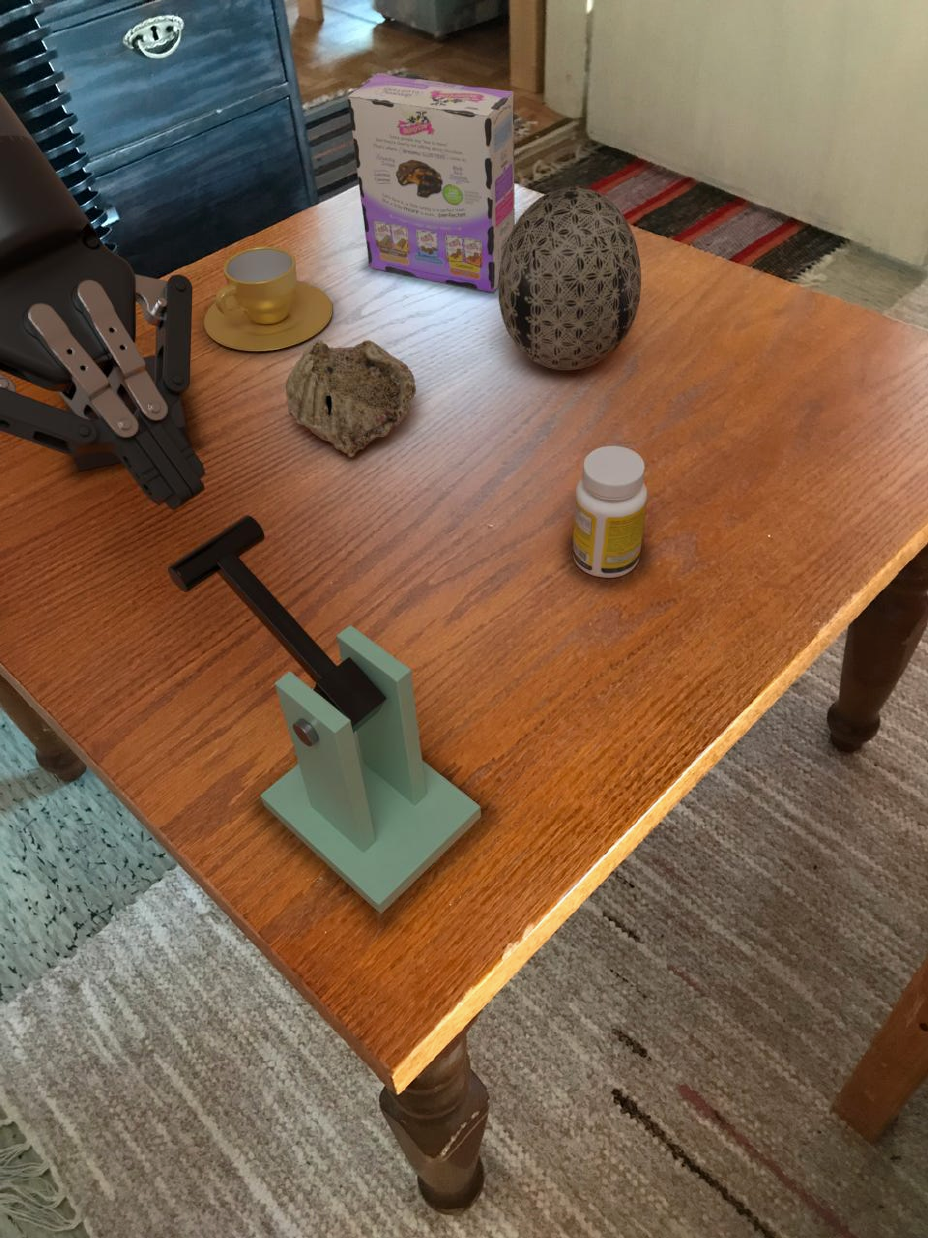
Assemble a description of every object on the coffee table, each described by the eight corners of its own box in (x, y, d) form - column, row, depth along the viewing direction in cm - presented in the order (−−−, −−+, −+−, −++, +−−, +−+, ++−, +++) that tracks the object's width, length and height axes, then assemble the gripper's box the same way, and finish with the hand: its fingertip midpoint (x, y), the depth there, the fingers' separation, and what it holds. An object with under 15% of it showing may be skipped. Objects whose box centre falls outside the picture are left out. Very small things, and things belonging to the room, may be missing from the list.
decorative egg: (660, 356, 86) (683, 187, 75) (572, 418, 81) (581, 245, 69) (560, 308, 92) (566, 143, 80) (471, 362, 86) (465, 194, 75)
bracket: (263, 806, 58) (213, 670, 48) (363, 722, 61) (335, 581, 52) (380, 915, 53) (351, 789, 43) (481, 817, 57) (475, 681, 47)
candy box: (517, 266, 97) (517, 88, 84) (492, 295, 93) (489, 115, 81) (393, 240, 101) (377, 67, 89) (366, 268, 98) (344, 92, 85)
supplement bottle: (647, 543, 71) (661, 451, 64) (627, 587, 68) (639, 496, 62) (584, 526, 72) (591, 434, 66) (562, 569, 69) (567, 477, 63)
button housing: (191, 447, 80) (179, 407, 77) (78, 471, 78) (61, 431, 75) (176, 372, 87) (164, 333, 84) (73, 394, 85) (56, 354, 82)
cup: (280, 271, 98) (270, 218, 94) (359, 315, 92) (352, 261, 88) (179, 321, 93) (164, 267, 88) (257, 371, 87) (244, 316, 83)
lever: (166, 578, 50) (166, 557, 48) (244, 527, 52) (247, 505, 50) (324, 757, 49) (332, 744, 46) (397, 696, 51) (407, 681, 49)
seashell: (334, 495, 80) (441, 436, 78) (285, 444, 74) (399, 379, 72) (311, 404, 86) (409, 347, 84) (265, 351, 81) (369, 289, 78)
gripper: (-188, 194, 39) (85, 559, 42) (99, 87, 45) (317, 413, 48) (-174, 274, 45) (62, 585, 49) (75, 171, 51) (269, 453, 55)
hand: (189, 499), depth 48 cm, fingers closed
